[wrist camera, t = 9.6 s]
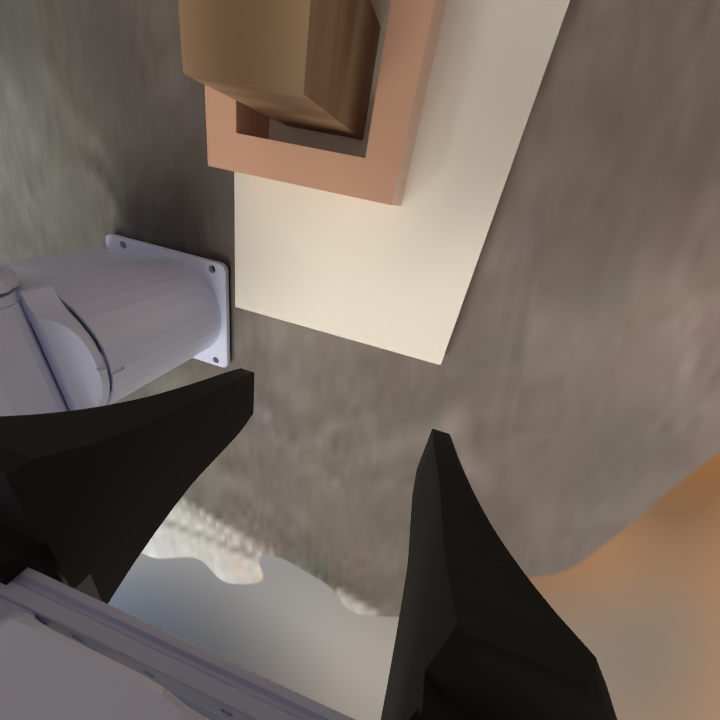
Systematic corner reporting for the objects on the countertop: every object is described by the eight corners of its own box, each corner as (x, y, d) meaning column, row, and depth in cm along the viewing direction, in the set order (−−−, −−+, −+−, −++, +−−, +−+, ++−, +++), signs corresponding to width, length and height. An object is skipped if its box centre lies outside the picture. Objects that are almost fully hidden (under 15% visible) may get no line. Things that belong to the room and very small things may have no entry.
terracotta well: (242, 171, 17) (208, 165, 15) (243, -78, 13) (194, -145, 10) (401, 205, 16) (391, 205, 13) (459, -60, 12) (462, -130, 9)
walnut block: (287, 125, 16) (182, 73, 10) (293, 15, 14) (169, -137, 8) (363, 140, 15) (303, 94, 9) (380, 27, 13) (320, -129, 7)
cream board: (243, 302, 22) (235, 306, 21) (246, -61, 14) (232, -79, 13) (440, 358, 20) (440, 365, 19) (577, -30, 12) (587, -48, 11)
